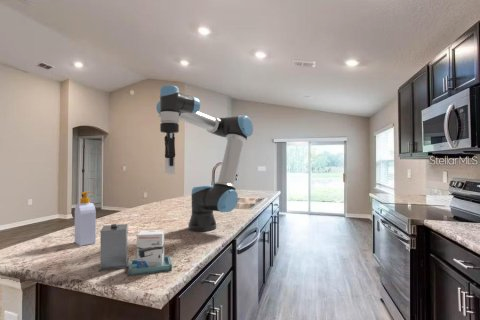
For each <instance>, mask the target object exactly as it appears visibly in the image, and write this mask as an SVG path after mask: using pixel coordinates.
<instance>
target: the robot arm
mask: <svg viewBox="0 0 480 320" xmlns="http://www.w3.org/2000/svg"><path fill="white" fill-rule="evenodd" d="M159 92H160V94H159V98H160V99H159V101H158V102H157V104H156V112H157V113H158V117H159V118H160V119H159V120H160V126H159V127H160V128H159V129H160V130H159V131H160V133H164V134H165V133H166V135H165V136H164V137H163V139H164V146H165V147H164V158H165V159H164V173H165V174H167V175H175V174H176V171H175V169H176V165H175V164H176V162H175V161H176V160H175V159H176V158H175V157H176V147H175V146H176V145H175V144H176V143H175V142H176V141H175V139H176V138H175V134H177V133H179V132H180V131H179V130H180V128H179V127H180V125H179V122H180V121H184V122H185V123H187V124H191V125H193V126H196V127H199V128H202V129H205V130H206V131H207V132H208V133H210V134H212V135H215V136H218V137H222V138H226V140H227V143H226V147H225V150H224V154H223V155H224V156H223V159H222V162H221V166H220V172H219V175H218V179H217V181H216V182H215V183H214V184H213V185H203V186H194V187H193V188H192V189H191V194H190V195H191V214H190V215H191V216H190V219H189V222H188V230H189V231H192V232H210V231H213V230H216V229H217V222H216V218H215V215H214V212H220V213H230V212H233V210H234V209H236V206H237V205H238V202H239V194H238V192H237V191H236V189H237V188H236V186H235V180H236V178H237V177H236V176H237V171H238V166H239V164H240V163H239V162H240V158H241V154H242V150H243V149H242V148H243V145H244V144H245V143H247V139H248V138H249V137H251V136H252V135H253V132H254V126H253V125H254V124H253V122H252V119H250V117H249V116H247V115H238V116H228V117H218V116H215V115H214V116H212V115H211V116H210V115H208V114H206V113H204V112H201V111H200V110H201V101H200V99H199V98H198V97H195V96H193V95H189V94H183V93H181V92H180V91H179V87H178V86H176V85H173V84H166V85H165V84H164V85H162V86H161V87H160V91H159Z"/></svg>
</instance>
